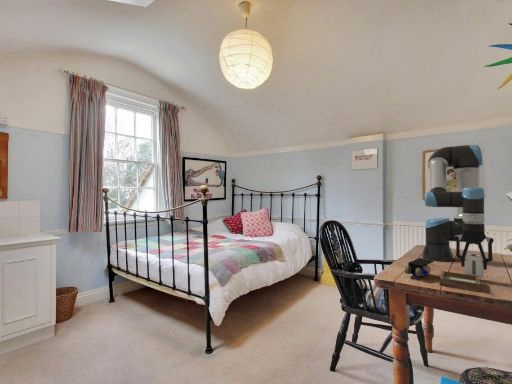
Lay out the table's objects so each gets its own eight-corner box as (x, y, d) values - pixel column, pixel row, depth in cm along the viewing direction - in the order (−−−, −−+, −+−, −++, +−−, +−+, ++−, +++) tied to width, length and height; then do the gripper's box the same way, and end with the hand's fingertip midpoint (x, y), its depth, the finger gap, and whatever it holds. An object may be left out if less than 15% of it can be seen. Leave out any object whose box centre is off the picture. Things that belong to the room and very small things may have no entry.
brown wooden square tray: (441, 277, 125) (441, 271, 125) (478, 283, 117) (478, 276, 117) (439, 285, 114) (439, 278, 114) (480, 292, 107) (480, 284, 107)
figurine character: (420, 284, 120) (434, 274, 129) (419, 267, 119) (433, 258, 128) (404, 281, 125) (419, 271, 134) (403, 264, 125) (418, 256, 134)
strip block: (466, 273, 125) (466, 252, 125) (480, 275, 122) (480, 254, 121) (466, 276, 121) (466, 255, 120) (481, 278, 118) (481, 256, 117)
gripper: (447, 222, 123) (448, 274, 124) (501, 225, 112) (502, 281, 113) (448, 220, 129) (449, 269, 130) (499, 222, 118) (500, 276, 119)
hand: (473, 275), depth 121 cm, fingers closed on strip block, 5 cm apart
